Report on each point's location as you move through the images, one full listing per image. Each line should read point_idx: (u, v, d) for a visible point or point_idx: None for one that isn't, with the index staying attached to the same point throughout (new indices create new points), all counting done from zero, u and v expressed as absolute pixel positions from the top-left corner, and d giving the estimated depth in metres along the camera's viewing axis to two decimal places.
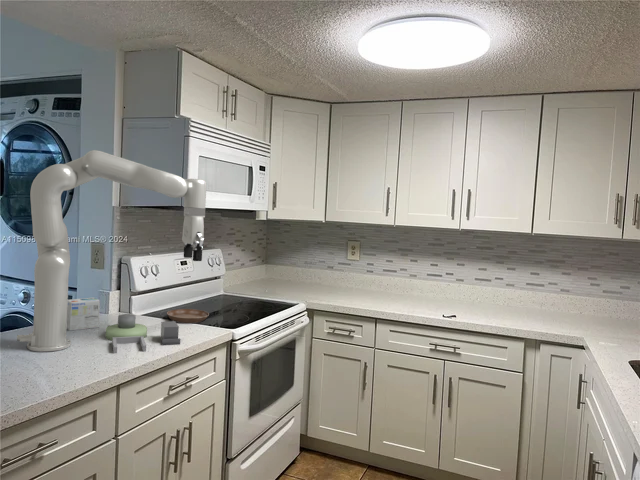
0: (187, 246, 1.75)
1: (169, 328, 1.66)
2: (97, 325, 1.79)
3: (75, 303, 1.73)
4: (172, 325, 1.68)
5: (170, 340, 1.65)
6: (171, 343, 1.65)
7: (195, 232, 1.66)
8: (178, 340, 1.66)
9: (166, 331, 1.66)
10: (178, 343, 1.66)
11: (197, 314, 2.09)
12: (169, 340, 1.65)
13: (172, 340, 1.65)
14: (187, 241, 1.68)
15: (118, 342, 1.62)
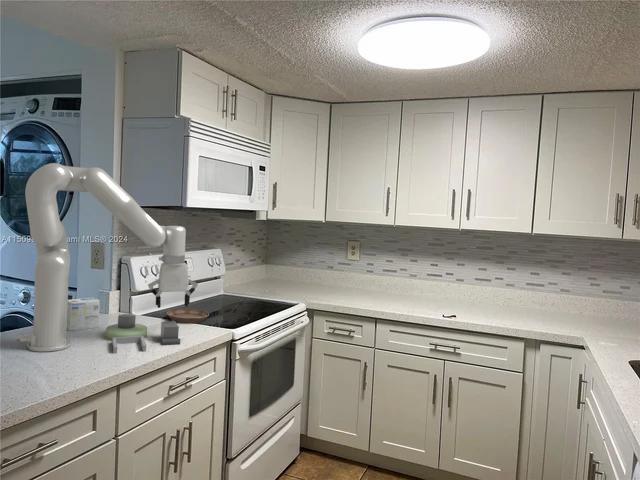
0: (159, 295, 1.67)
1: (169, 328, 1.66)
2: (97, 325, 1.79)
3: (75, 303, 1.73)
4: (172, 325, 1.68)
5: (170, 340, 1.65)
6: (171, 343, 1.65)
7: None
8: (178, 340, 1.66)
9: (166, 331, 1.66)
10: (178, 343, 1.66)
11: (197, 314, 2.09)
12: (169, 340, 1.65)
13: (172, 340, 1.65)
14: (179, 289, 1.68)
15: (118, 342, 1.62)
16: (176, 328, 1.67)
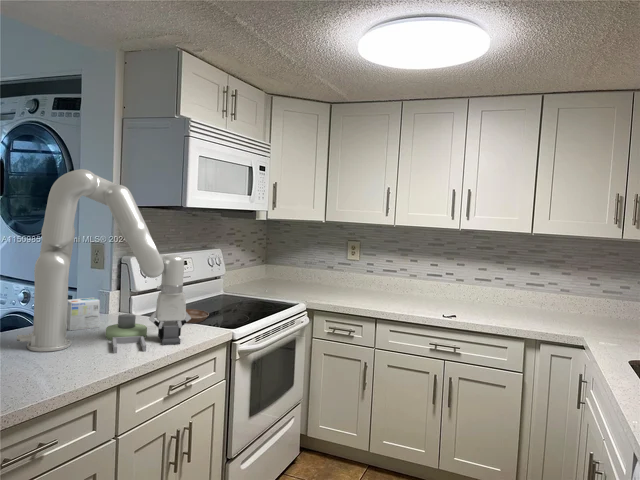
0: None
1: (169, 328, 1.66)
2: (97, 325, 1.79)
3: (75, 303, 1.73)
4: (172, 325, 1.68)
5: (170, 340, 1.65)
6: (171, 343, 1.65)
7: (185, 308, 1.71)
8: (178, 340, 1.66)
9: (166, 331, 1.66)
10: (178, 343, 1.66)
11: (197, 314, 2.09)
12: (169, 340, 1.65)
13: (172, 340, 1.65)
14: (176, 319, 1.68)
15: (118, 342, 1.62)
16: (176, 328, 1.67)
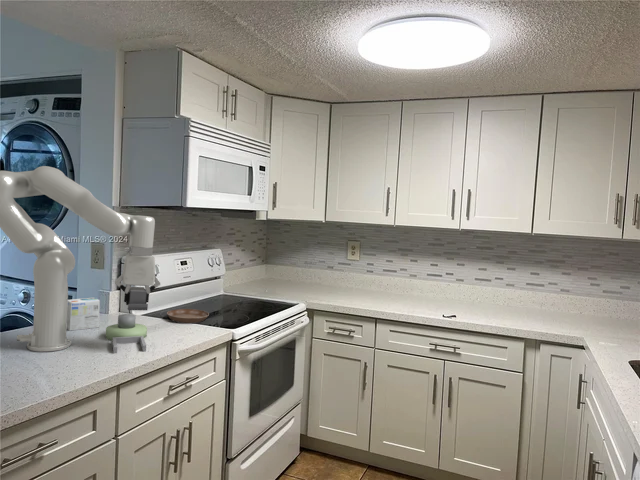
0: None
1: (136, 292, 1.55)
2: (97, 325, 1.79)
3: (75, 303, 1.73)
4: (140, 290, 1.58)
5: (136, 305, 1.54)
6: (137, 308, 1.54)
7: (154, 272, 1.60)
8: (145, 305, 1.55)
9: (132, 296, 1.55)
10: (145, 309, 1.55)
11: (197, 314, 2.09)
12: (135, 305, 1.54)
13: (139, 305, 1.54)
14: (144, 283, 1.58)
15: (118, 342, 1.62)
16: (144, 293, 1.57)
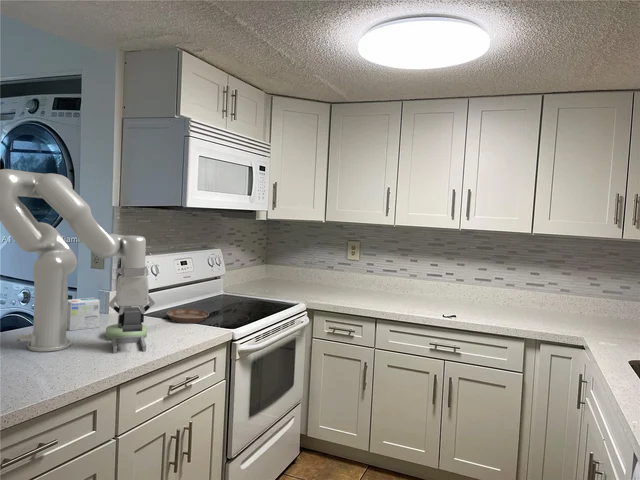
0: (123, 313, 1.57)
1: (130, 313, 1.54)
2: (97, 325, 1.79)
3: (75, 303, 1.73)
4: (134, 310, 1.56)
5: (131, 326, 1.53)
6: (132, 329, 1.53)
7: (148, 292, 1.59)
8: (140, 326, 1.54)
9: (126, 317, 1.54)
10: (140, 329, 1.54)
11: (197, 314, 2.09)
12: (130, 326, 1.53)
13: (133, 326, 1.53)
14: (138, 304, 1.56)
15: (118, 342, 1.62)
16: (138, 313, 1.55)
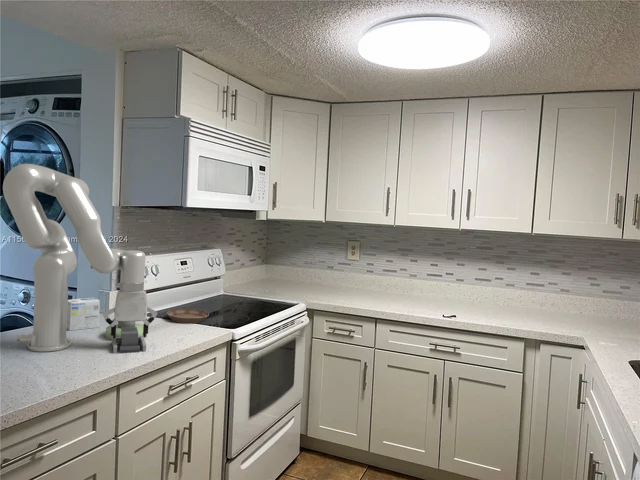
0: (115, 325, 1.56)
1: (128, 335, 1.55)
2: (97, 325, 1.79)
3: (75, 303, 1.73)
4: (131, 331, 1.57)
5: (128, 347, 1.53)
6: (129, 351, 1.53)
7: (147, 307, 1.59)
8: (137, 347, 1.54)
9: (124, 338, 1.54)
10: (137, 351, 1.54)
11: (197, 314, 2.09)
12: (127, 347, 1.53)
13: (130, 347, 1.53)
14: (136, 319, 1.56)
15: (118, 342, 1.62)
16: (135, 335, 1.56)
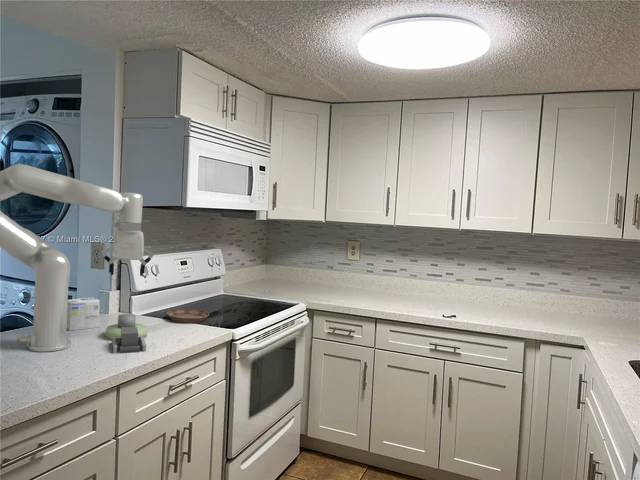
0: None
1: (128, 335, 1.55)
2: (97, 325, 1.79)
3: (75, 303, 1.73)
4: (131, 331, 1.57)
5: (128, 348, 1.53)
6: (129, 351, 1.53)
7: (143, 247, 1.67)
8: (137, 347, 1.54)
9: (124, 338, 1.54)
10: (137, 351, 1.54)
11: (197, 314, 2.09)
12: (127, 348, 1.53)
13: (130, 347, 1.53)
14: (133, 257, 1.64)
15: (118, 342, 1.62)
16: (135, 334, 1.56)
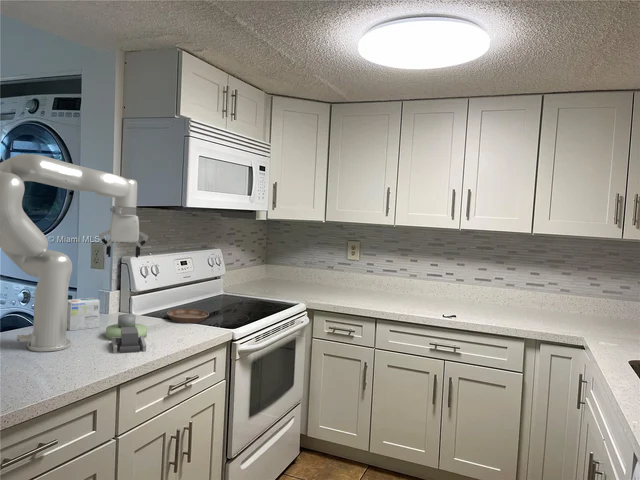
0: None
1: (128, 335, 1.55)
2: (97, 325, 1.79)
3: (75, 303, 1.73)
4: (131, 331, 1.57)
5: (128, 347, 1.53)
6: (129, 351, 1.53)
7: None
8: (137, 347, 1.54)
9: (124, 338, 1.54)
10: (137, 351, 1.54)
11: (197, 314, 2.09)
12: (127, 348, 1.53)
13: (130, 347, 1.53)
14: (129, 240, 1.74)
15: (118, 342, 1.62)
16: (135, 334, 1.56)
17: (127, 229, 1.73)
